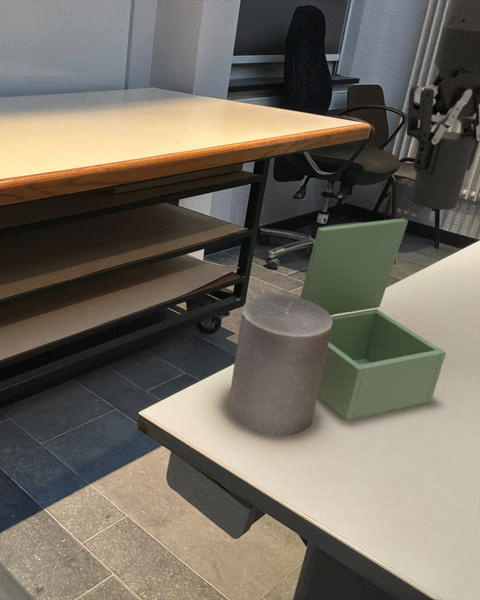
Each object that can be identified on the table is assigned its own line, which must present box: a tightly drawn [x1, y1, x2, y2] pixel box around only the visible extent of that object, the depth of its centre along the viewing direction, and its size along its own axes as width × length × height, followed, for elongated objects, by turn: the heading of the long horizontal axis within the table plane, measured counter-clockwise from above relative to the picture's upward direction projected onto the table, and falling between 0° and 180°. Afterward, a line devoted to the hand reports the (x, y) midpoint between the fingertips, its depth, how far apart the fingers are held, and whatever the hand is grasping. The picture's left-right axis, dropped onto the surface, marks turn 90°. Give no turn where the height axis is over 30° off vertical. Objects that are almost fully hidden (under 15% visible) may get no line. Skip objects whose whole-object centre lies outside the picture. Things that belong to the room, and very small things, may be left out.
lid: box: [299, 217, 409, 316], centre depth 85 cm, size 12×13×4 cm
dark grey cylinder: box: [409, 130, 475, 211], centre depth 84 cm, size 5×5×8 cm
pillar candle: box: [227, 294, 333, 436], centre depth 77 cm, size 10×10×15 cm
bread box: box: [317, 308, 447, 422], centre depth 84 cm, size 12×13×8 cm
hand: (441, 170), depth 84 cm, fingers closed on dark grey cylinder, 5 cm apart
